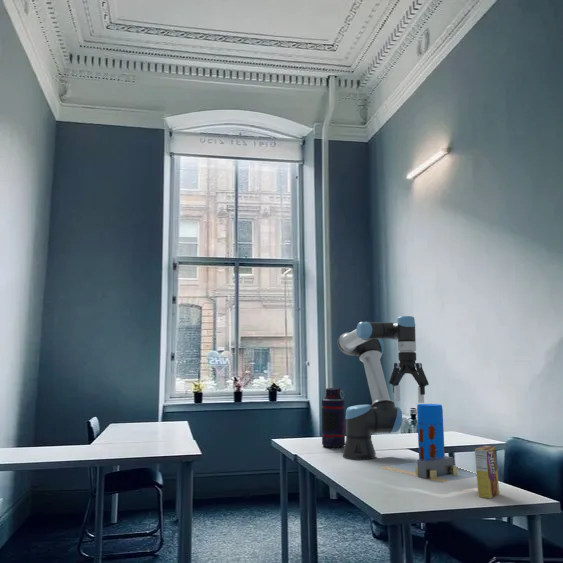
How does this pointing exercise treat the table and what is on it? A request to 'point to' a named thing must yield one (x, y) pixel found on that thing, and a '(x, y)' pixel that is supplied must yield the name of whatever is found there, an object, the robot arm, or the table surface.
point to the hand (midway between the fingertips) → (408, 401)
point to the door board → (410, 470)
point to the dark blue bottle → (333, 419)
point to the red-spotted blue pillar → (430, 431)
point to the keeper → (434, 473)
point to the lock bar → (435, 466)
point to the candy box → (486, 471)
